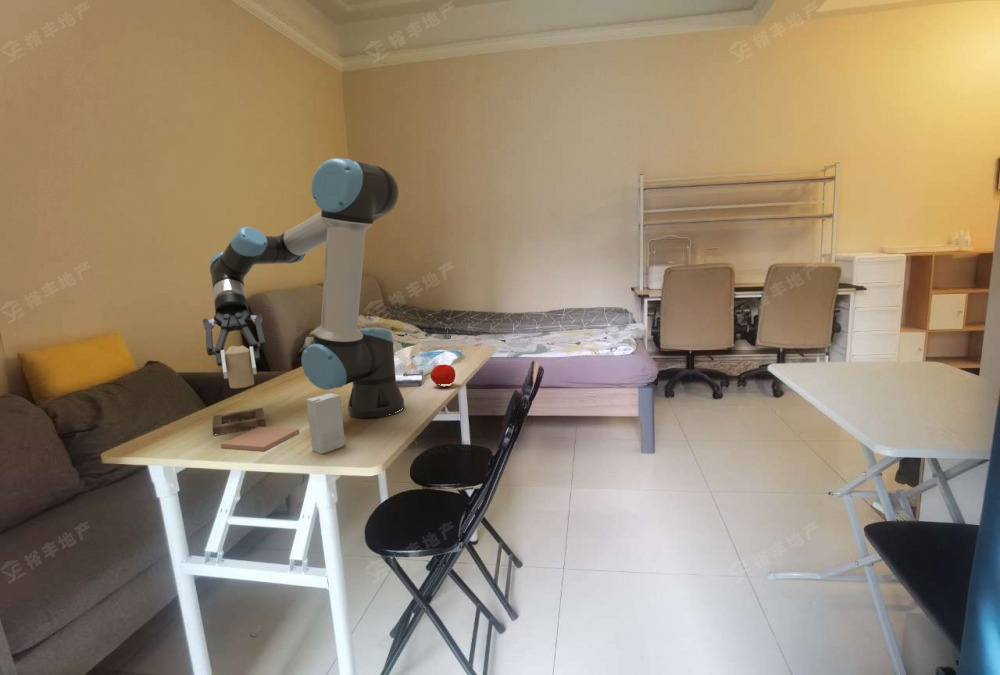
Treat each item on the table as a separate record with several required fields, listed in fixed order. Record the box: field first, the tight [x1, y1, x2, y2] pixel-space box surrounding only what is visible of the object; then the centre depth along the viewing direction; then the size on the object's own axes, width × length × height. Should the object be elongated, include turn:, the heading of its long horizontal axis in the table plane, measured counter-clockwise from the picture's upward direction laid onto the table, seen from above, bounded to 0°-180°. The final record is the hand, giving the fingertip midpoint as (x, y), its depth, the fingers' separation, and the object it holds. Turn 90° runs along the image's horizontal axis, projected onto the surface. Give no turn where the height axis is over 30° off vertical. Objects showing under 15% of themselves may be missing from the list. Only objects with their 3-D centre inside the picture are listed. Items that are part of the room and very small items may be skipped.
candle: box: [224, 344, 255, 389], centre depth 123 cm, size 6×6×10 cm
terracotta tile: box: [220, 426, 300, 452], centre depth 120 cm, size 12×12×1 cm
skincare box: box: [306, 392, 346, 455], centre depth 112 cm, size 6×4×12 cm
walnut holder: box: [212, 407, 267, 436], centre depth 133 cm, size 12×12×2 cm
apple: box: [430, 363, 456, 385], centre depth 162 cm, size 8×8×7 cm
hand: (240, 373), depth 120 cm, fingers closed on candle, 5 cm apart
